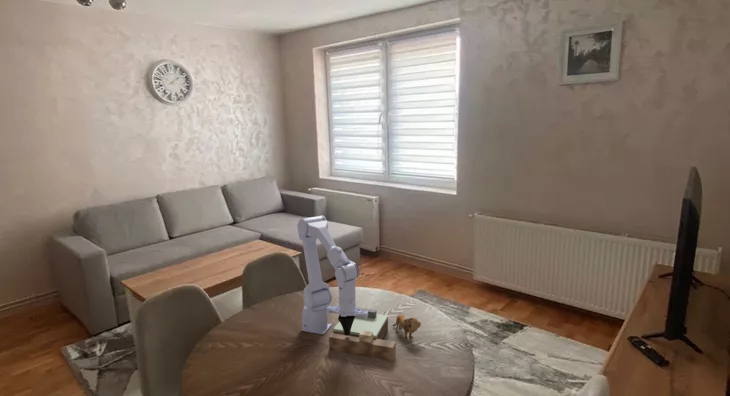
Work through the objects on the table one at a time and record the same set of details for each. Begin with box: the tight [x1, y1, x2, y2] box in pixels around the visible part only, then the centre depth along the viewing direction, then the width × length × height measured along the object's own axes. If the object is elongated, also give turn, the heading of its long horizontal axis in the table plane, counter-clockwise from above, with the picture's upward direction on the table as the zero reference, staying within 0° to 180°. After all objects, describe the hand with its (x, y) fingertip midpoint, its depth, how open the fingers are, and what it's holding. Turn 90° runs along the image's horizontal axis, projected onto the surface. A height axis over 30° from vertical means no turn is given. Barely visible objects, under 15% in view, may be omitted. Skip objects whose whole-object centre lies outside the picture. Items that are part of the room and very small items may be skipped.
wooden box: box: [328, 318, 397, 362], centre depth 153 cm, size 23×20×5 cm
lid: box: [332, 307, 389, 338], centre depth 155 cm, size 16×16×4 cm
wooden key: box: [359, 330, 373, 343], centre depth 144 cm, size 4×3×2 cm
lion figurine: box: [391, 314, 422, 341], centre depth 157 cm, size 15×5×9 cm, turn 34°
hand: (347, 334), depth 146 cm, fingers closed
